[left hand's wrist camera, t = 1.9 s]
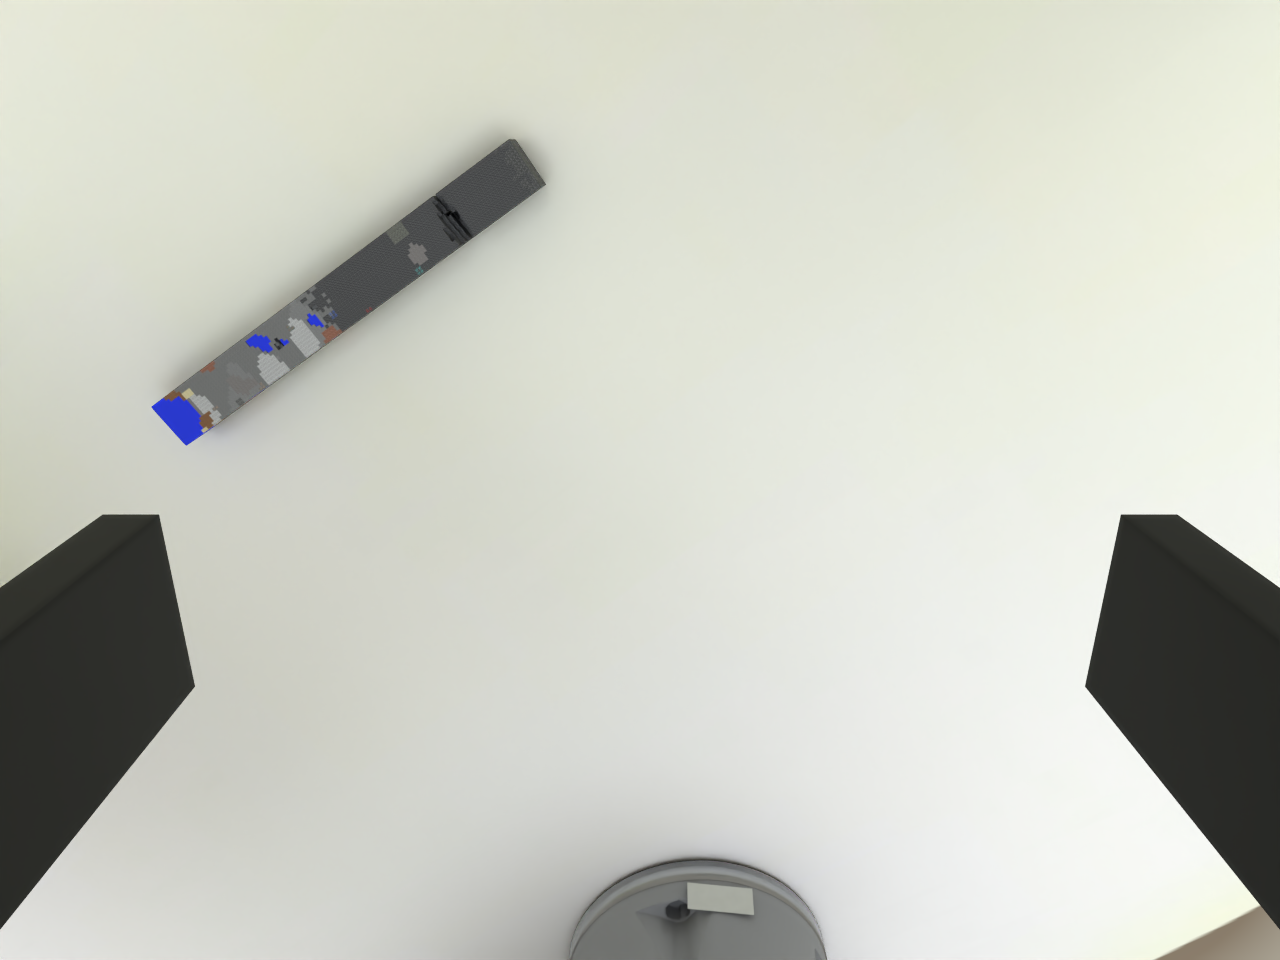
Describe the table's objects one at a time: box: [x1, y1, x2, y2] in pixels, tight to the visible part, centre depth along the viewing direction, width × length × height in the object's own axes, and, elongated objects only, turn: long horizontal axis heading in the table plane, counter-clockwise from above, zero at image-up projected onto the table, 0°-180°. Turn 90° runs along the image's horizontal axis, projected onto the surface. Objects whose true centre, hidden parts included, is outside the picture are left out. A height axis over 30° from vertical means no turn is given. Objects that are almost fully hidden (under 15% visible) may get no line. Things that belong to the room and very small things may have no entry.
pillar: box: [152, 139, 546, 445], centre depth 39 cm, size 2×2×20 cm
